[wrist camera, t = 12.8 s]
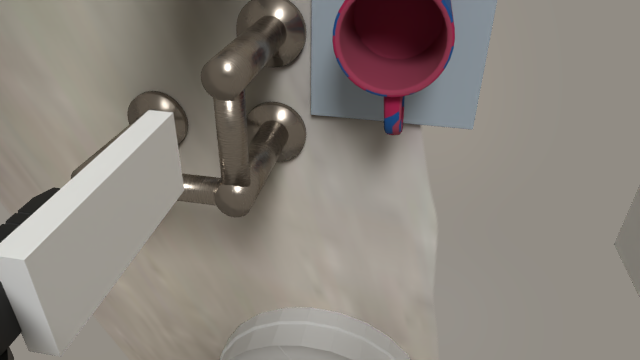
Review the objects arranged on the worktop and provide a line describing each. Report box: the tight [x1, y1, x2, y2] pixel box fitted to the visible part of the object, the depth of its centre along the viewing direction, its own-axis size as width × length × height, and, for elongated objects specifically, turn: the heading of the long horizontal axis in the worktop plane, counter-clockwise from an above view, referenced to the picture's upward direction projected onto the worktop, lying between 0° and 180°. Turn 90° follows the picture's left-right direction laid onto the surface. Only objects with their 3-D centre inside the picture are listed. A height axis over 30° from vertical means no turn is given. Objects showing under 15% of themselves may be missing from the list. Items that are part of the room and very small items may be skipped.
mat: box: [311, 0, 497, 129], centre depth 35 cm, size 12×12×1 cm
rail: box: [71, 0, 306, 217], centre depth 35 cm, size 13×15×10 cm
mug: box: [332, 0, 455, 135], centre depth 32 cm, size 7×10×7 cm
